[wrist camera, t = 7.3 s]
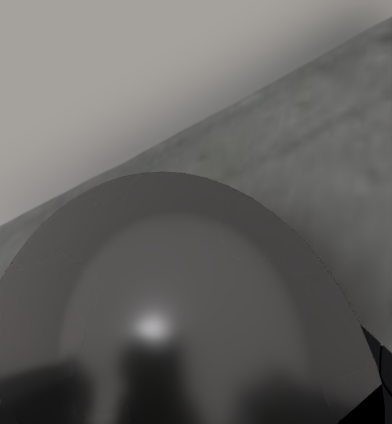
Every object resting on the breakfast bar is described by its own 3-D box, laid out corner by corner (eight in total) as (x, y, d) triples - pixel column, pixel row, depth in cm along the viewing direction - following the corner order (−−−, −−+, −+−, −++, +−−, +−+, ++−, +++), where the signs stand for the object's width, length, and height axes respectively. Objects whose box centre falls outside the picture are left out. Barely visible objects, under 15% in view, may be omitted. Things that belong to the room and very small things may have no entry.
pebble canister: (285, 272, 12) (491, 296, 2) (241, 365, 11) (202, 1192, 1) (204, 229, 14) (101, 132, 4) (162, 304, 14) (-94, 413, 3)
